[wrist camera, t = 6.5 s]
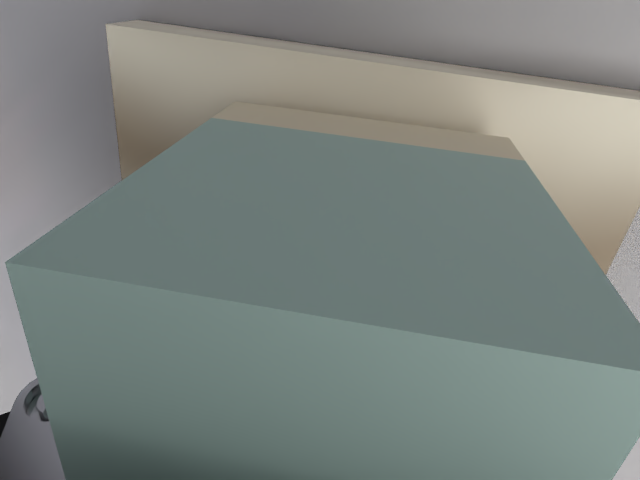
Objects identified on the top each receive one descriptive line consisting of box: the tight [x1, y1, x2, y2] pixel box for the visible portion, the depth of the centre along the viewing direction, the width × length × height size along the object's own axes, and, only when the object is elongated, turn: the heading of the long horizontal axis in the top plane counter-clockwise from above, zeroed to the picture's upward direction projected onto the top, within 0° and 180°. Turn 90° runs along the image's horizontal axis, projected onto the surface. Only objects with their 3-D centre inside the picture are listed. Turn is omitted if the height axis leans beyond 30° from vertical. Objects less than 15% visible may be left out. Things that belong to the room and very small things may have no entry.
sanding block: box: [5, 101, 640, 480], centre depth 10 cm, size 10×6×7 cm, turn 175°
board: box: [106, 20, 640, 275], centre depth 16 cm, size 20×13×2 cm, turn 174°
